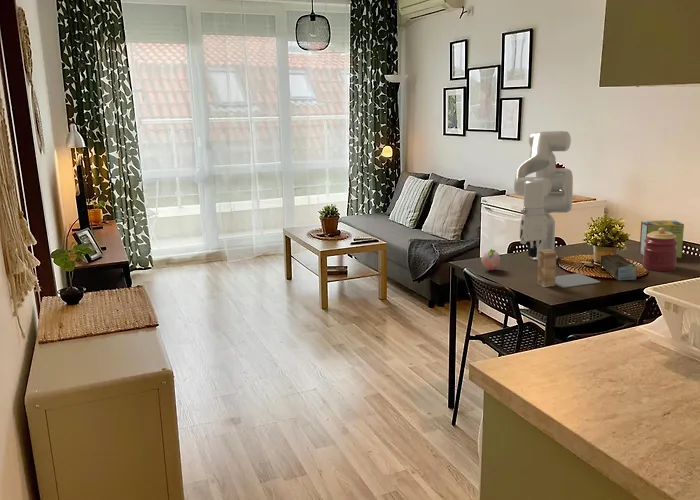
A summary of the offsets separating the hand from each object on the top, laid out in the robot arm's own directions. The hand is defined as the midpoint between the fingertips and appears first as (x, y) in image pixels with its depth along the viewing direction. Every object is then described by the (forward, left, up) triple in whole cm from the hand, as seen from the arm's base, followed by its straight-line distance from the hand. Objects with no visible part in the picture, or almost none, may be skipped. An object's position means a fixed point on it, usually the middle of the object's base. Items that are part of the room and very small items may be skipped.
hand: (532, 256), depth 235 cm
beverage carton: (-1, +41, -13) cm, 44 cm away
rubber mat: (0, +18, -12) cm, 22 cm away
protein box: (-17, +78, -13) cm, 81 cm away
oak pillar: (0, +7, -12) cm, 14 cm away
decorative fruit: (-28, -3, -13) cm, 31 cm away
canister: (-1, +63, -13) cm, 64 cm away
